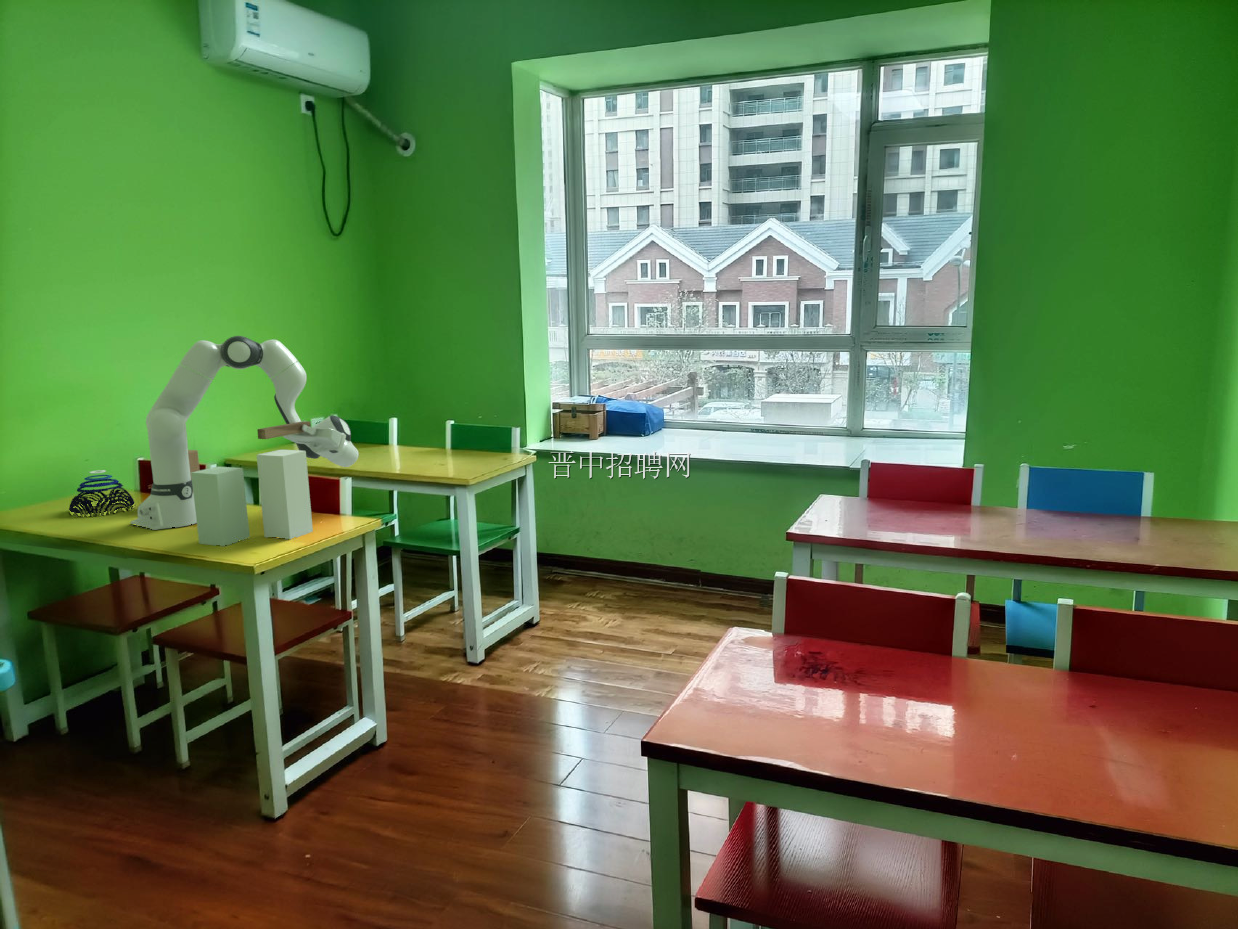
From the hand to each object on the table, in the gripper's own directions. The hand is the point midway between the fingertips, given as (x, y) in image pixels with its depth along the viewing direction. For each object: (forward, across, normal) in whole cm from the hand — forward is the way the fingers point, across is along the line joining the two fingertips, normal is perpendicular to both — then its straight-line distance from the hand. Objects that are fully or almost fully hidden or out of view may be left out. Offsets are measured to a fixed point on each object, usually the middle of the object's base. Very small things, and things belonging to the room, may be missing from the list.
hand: (296, 426), depth 273 cm
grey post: (-5, +6, +34) cm, 35 cm away
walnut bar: (+4, 0, +4) cm, 6 cm away
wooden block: (-22, -61, +25) cm, 70 cm away
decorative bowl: (-10, -84, +32) cm, 91 cm away
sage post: (+6, -8, +41) cm, 42 cm away
